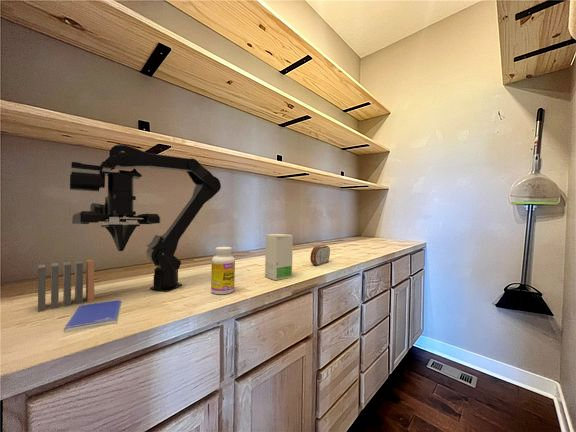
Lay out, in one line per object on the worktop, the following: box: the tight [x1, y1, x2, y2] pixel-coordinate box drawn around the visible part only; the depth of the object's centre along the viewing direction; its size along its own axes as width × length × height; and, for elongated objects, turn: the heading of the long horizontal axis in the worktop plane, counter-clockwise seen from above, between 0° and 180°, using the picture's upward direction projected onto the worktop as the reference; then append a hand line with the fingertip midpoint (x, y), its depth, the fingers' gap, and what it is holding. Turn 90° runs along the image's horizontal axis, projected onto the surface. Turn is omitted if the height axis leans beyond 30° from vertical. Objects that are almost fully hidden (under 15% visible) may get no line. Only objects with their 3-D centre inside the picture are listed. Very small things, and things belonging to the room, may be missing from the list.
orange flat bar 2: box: [74, 260, 84, 305], centre depth 61 cm, size 1×4×10 cm, turn 45°
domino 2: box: [50, 262, 60, 310], centre depth 58 cm, size 1×4×10 cm, turn 46°
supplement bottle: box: [210, 246, 236, 295], centre depth 71 cm, size 7×7×13 cm
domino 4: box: [85, 259, 95, 303], centre depth 63 cm, size 1×4×10 cm, turn 46°
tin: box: [309, 244, 331, 266], centre depth 111 cm, size 15×3×8 cm, turn 144°
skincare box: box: [264, 233, 294, 281], centre depth 87 cm, size 8×7×16 cm
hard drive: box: [63, 299, 122, 334], centre depth 53 cm, size 2×8×12 cm
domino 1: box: [37, 264, 47, 313], centre depth 57 cm, size 1×4×10 cm, turn 46°
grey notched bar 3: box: [62, 261, 72, 307], centre depth 60 cm, size 1×4×10 cm, turn 45°
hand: (120, 251), depth 64 cm, fingers closed
